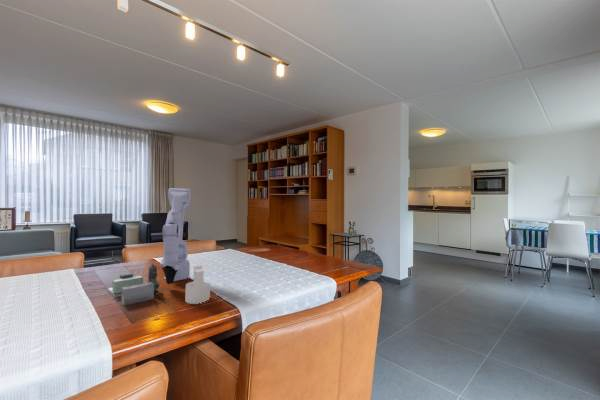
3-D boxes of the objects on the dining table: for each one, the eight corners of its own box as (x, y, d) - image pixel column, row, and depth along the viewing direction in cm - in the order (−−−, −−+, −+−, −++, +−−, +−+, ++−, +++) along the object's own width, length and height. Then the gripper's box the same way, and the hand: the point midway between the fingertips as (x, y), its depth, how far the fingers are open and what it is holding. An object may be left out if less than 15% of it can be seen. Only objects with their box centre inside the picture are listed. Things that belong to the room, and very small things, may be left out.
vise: (135, 285, 120) (135, 272, 120) (153, 298, 105) (154, 283, 105) (108, 290, 113) (108, 276, 113) (123, 305, 98) (124, 289, 98)
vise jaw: (138, 284, 117) (138, 271, 117) (142, 287, 113) (143, 274, 113) (110, 290, 110) (111, 275, 110) (114, 293, 106) (115, 278, 106)
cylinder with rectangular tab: (185, 296, 109) (186, 266, 109) (208, 294, 112) (209, 265, 112) (185, 305, 100) (186, 272, 100) (210, 302, 104) (211, 270, 104)
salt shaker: (153, 296, 108) (154, 265, 108) (140, 294, 110) (141, 264, 110) (163, 291, 114) (164, 262, 114) (151, 289, 115) (151, 261, 115)
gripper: (154, 250, 119) (153, 281, 119) (168, 255, 109) (167, 289, 109) (171, 248, 124) (170, 278, 124) (185, 253, 114) (184, 285, 114)
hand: (169, 283), depth 117 cm, fingers closed
